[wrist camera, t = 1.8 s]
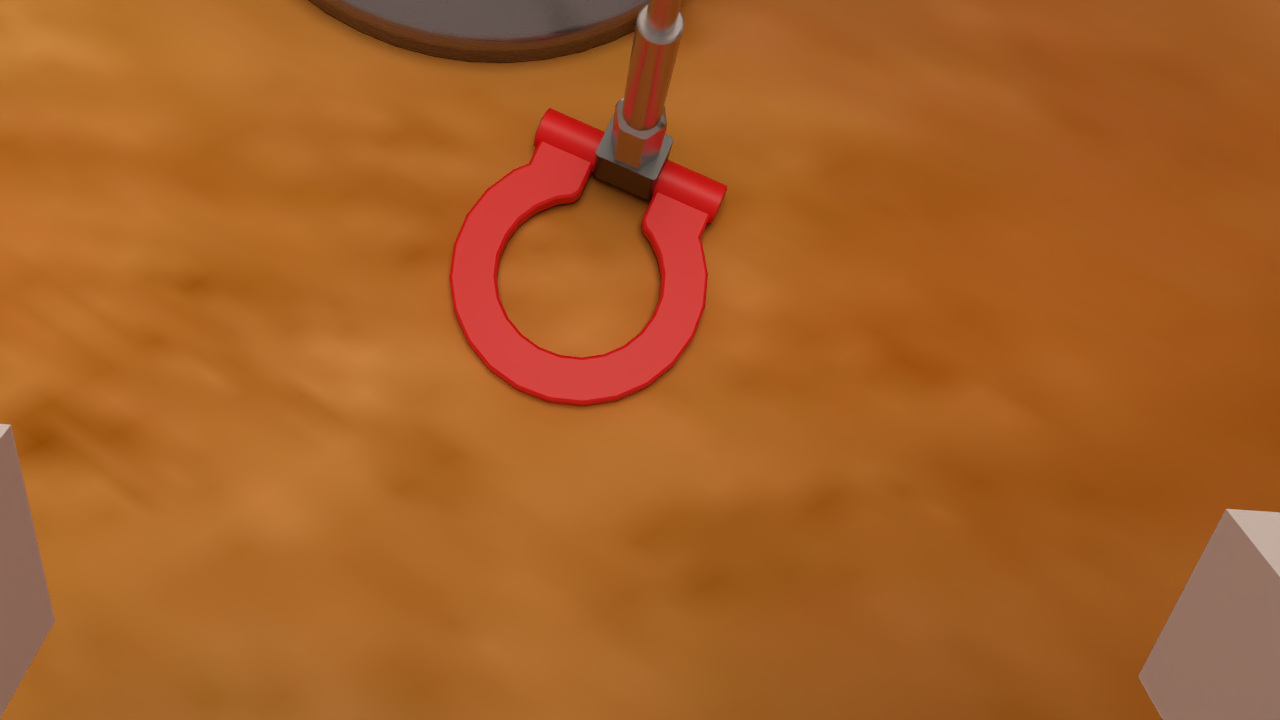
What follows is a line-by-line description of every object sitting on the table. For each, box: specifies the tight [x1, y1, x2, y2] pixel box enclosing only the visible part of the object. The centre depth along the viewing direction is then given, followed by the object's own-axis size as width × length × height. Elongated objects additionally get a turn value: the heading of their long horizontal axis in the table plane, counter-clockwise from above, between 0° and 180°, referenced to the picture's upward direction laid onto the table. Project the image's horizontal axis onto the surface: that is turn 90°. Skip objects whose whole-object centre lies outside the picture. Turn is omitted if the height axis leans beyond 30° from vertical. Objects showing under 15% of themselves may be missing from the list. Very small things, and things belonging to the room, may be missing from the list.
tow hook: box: [450, 0, 727, 406], centre depth 30 cm, size 8×13×9 cm
